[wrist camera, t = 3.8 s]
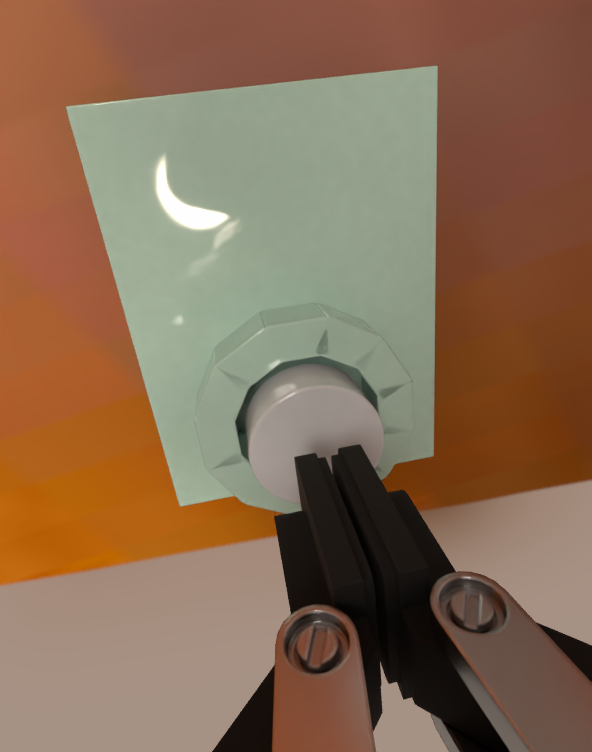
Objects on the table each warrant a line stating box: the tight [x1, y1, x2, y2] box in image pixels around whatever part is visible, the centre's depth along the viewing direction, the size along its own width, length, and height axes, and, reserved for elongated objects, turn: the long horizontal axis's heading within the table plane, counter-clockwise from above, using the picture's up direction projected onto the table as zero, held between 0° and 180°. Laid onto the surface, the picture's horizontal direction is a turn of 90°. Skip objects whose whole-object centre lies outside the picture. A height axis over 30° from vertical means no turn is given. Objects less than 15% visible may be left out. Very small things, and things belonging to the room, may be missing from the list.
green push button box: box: [66, 66, 438, 514], centre depth 15 cm, size 13×10×5 cm
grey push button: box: [245, 364, 384, 504], centre depth 14 cm, size 4×4×2 cm
